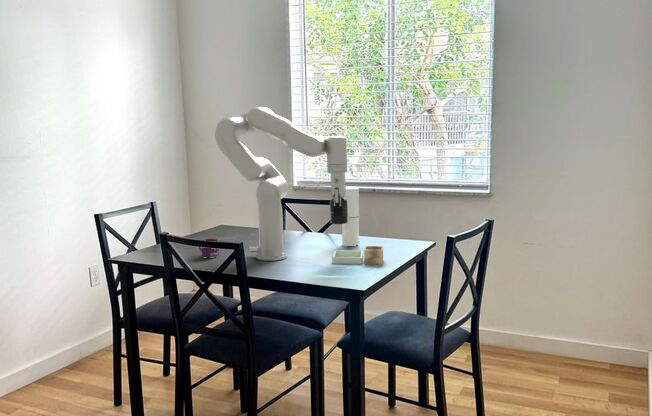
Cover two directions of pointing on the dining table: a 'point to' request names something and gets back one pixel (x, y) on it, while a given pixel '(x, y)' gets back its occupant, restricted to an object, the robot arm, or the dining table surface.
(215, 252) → the mug
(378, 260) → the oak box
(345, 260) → the tray
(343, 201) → the supplement bottle
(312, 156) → the robot arm
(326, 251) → the dining table surface
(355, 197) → the cylindrical container
